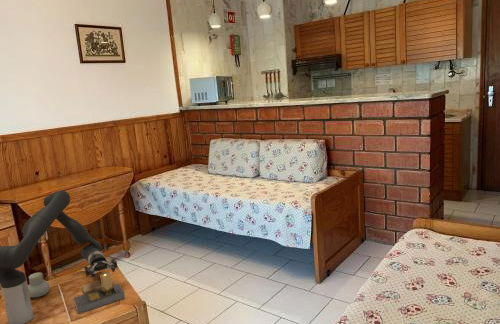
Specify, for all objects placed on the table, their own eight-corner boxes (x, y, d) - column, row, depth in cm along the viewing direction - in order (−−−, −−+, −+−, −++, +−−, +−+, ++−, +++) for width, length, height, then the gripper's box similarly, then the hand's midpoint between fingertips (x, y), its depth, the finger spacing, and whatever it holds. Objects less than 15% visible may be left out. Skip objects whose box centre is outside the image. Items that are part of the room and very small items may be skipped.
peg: (104, 301, 178) (100, 277, 176) (102, 297, 182) (99, 273, 179) (114, 298, 180) (111, 274, 178) (112, 294, 184) (109, 270, 182)
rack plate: (78, 313, 170) (76, 307, 169) (74, 303, 178) (73, 297, 177) (124, 298, 180) (124, 291, 179) (119, 289, 188) (118, 283, 187)
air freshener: (52, 294, 188) (48, 275, 186) (33, 301, 183) (29, 282, 181) (44, 287, 196) (41, 268, 194) (26, 294, 190) (22, 275, 188)
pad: (84, 296, 184) (84, 292, 184) (82, 289, 191) (81, 285, 190) (102, 290, 188) (102, 286, 188) (99, 284, 195) (98, 280, 194)
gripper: (80, 257, 191) (86, 270, 177) (110, 249, 198) (118, 260, 184) (83, 272, 193) (88, 285, 179) (113, 263, 200) (120, 275, 186)
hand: (103, 272), depth 182 cm, fingers open, 8 cm apart
